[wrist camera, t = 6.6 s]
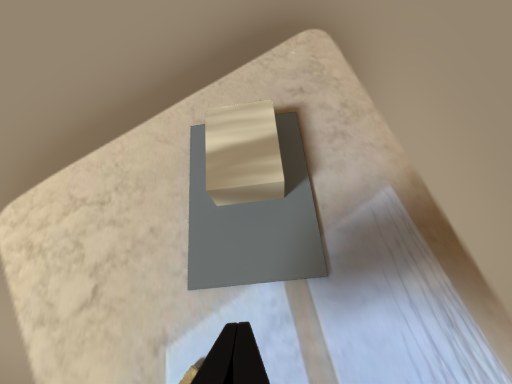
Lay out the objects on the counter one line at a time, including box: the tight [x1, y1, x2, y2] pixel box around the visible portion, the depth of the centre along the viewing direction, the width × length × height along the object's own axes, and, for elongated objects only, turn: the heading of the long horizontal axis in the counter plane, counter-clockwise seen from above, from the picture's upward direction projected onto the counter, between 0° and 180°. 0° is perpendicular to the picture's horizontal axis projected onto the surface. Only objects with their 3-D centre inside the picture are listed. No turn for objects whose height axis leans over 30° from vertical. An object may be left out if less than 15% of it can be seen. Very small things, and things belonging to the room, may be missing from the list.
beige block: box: [205, 99, 284, 206], centre depth 22 cm, size 4×6×8 cm
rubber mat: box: [188, 112, 328, 290], centre depth 23 cm, size 16×11×1 cm
